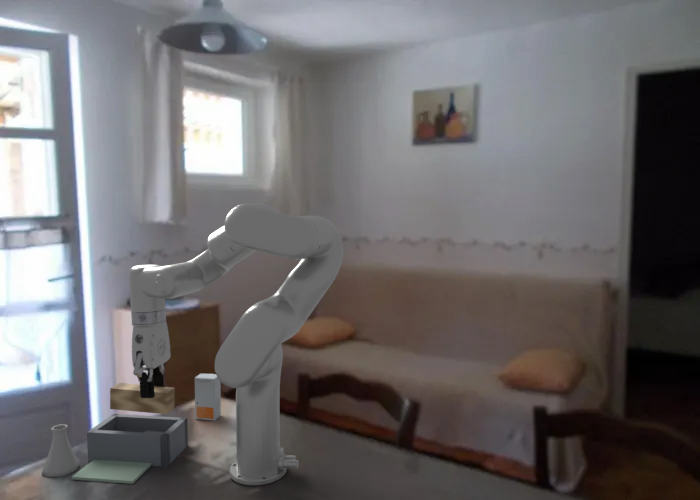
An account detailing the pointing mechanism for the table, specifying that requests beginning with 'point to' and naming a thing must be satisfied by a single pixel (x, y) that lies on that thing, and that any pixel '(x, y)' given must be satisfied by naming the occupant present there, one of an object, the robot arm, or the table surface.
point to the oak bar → (141, 399)
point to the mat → (112, 471)
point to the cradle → (138, 439)
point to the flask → (60, 454)
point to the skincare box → (207, 397)
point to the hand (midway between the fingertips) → (152, 393)
